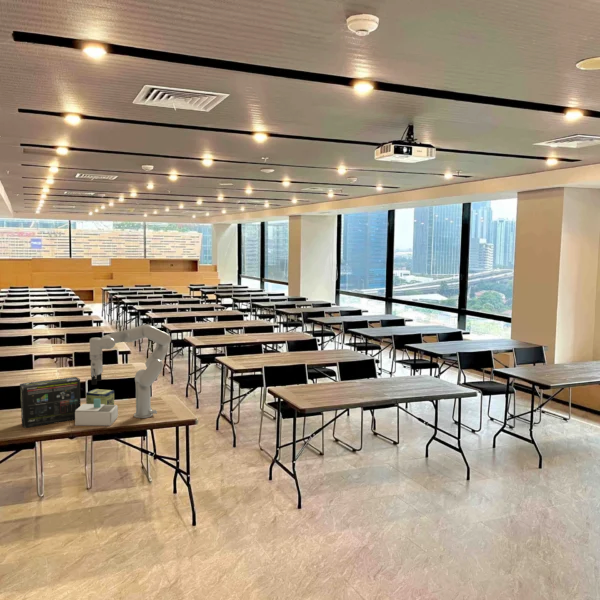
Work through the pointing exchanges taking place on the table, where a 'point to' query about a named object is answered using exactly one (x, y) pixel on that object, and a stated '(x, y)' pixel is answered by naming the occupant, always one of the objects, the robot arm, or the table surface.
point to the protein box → (100, 396)
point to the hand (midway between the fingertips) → (96, 382)
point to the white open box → (97, 416)
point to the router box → (49, 401)
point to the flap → (91, 406)
